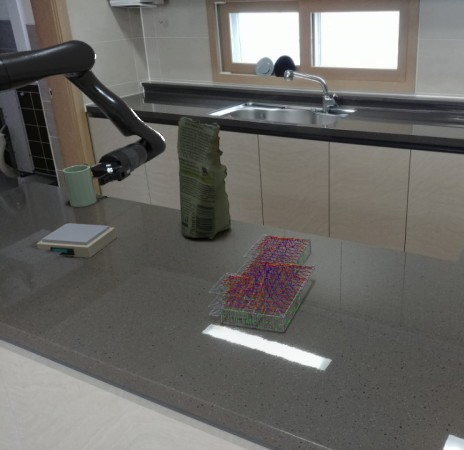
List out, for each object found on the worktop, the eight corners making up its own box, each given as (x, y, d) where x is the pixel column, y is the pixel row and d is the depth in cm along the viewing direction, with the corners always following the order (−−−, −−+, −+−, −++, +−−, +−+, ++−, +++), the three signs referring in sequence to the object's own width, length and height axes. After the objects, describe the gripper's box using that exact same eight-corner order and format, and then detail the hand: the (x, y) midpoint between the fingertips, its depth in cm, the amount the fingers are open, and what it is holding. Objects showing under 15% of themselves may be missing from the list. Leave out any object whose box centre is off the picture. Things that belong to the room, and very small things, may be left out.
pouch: (188, 222, 123) (173, 113, 113) (239, 220, 122) (229, 111, 112) (175, 243, 112) (158, 124, 103) (232, 241, 112) (219, 122, 102)
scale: (37, 255, 110) (33, 241, 109) (69, 234, 119) (66, 221, 118) (88, 259, 107) (85, 245, 106) (117, 237, 116) (114, 224, 115)
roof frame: (261, 244, 110) (259, 220, 108) (332, 251, 106) (332, 226, 104) (191, 324, 84) (187, 295, 82) (282, 338, 79) (280, 308, 77)
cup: (66, 210, 133) (57, 172, 129) (81, 201, 139) (73, 164, 135) (88, 211, 132) (79, 173, 128) (102, 202, 137) (94, 165, 133)
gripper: (94, 149, 150) (57, 166, 135) (140, 150, 146) (107, 167, 132) (99, 174, 152) (63, 194, 138) (144, 176, 149) (112, 196, 135)
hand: (85, 181), depth 135 cm, fingers open, 8 cm apart
